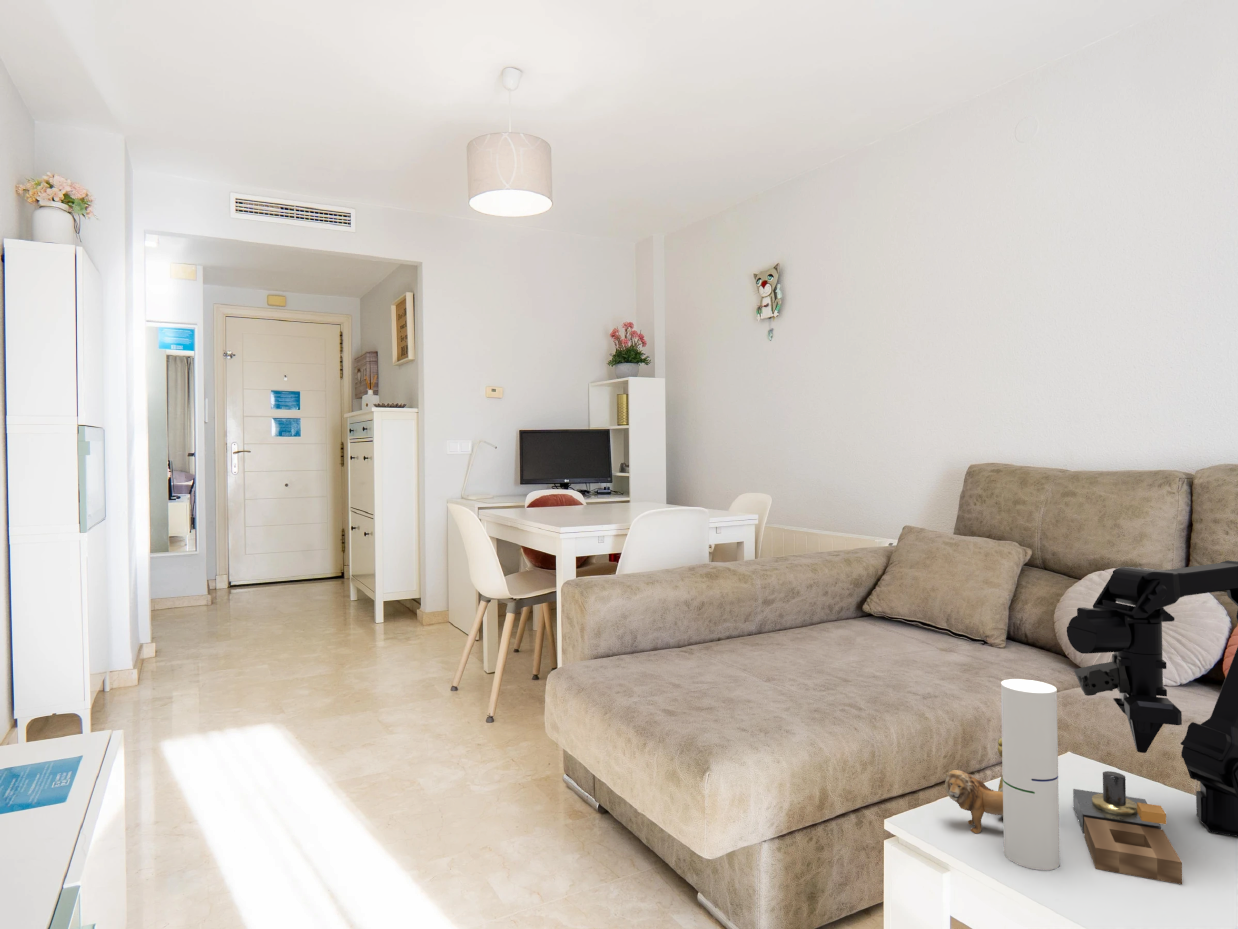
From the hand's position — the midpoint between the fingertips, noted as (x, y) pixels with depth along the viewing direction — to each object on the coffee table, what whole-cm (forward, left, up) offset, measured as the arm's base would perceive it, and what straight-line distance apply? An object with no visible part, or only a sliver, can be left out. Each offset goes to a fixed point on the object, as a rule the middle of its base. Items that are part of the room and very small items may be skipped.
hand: (1141, 752), depth 113 cm
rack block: (+3, +8, -13) cm, 16 cm away
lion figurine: (+21, +8, -13) cm, 26 cm away
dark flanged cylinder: (+3, -3, -13) cm, 14 cm away
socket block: (+3, -3, -13) cm, 14 cm away
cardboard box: (-1, +3, -9) cm, 9 cm away
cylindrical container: (+16, +13, -13) cm, 25 cm away
